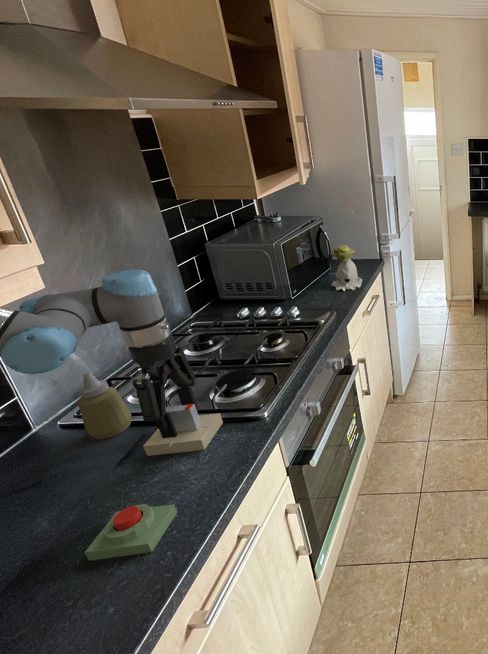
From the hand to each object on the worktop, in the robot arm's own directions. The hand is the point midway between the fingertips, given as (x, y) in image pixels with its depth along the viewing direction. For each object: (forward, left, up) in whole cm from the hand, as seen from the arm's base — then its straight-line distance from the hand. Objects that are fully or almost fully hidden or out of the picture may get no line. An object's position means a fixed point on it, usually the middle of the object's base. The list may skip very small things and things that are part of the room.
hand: (181, 423), depth 98 cm
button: (+4, -25, -1) cm, 25 cm away
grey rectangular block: (0, 0, -2) cm, 2 cm away
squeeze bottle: (-18, +4, -5) cm, 19 cm away
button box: (+4, -25, -5) cm, 26 cm away
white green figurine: (+19, +88, -5) cm, 91 cm away
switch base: (0, 0, -5) cm, 5 cm away
